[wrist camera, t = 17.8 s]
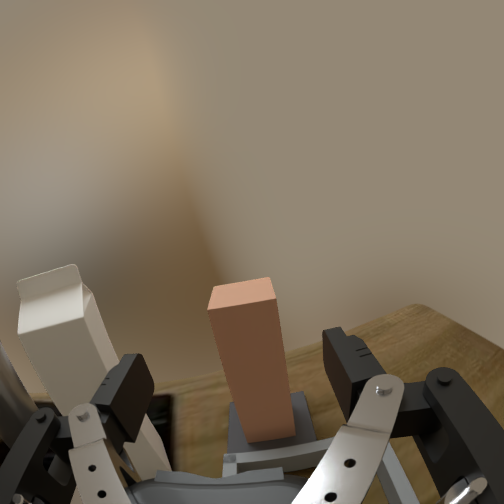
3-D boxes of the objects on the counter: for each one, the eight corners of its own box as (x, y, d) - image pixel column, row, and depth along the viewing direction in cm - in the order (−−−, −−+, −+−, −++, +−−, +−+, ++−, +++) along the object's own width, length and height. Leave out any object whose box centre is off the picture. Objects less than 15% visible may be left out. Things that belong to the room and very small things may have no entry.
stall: (229, 561, 9) (218, 556, 8) (231, 468, 20) (223, 454, 19) (412, 522, 9) (423, 512, 8) (375, 440, 20) (378, 423, 19)
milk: (174, 476, 19) (69, 271, 14) (122, 487, 17) (0, 292, 12) (161, 438, 25) (83, 256, 20) (116, 449, 22) (26, 273, 17)
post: (247, 442, 23) (207, 309, 19) (246, 411, 28) (213, 286, 24) (295, 435, 23) (276, 298, 19) (289, 404, 28) (269, 277, 24)
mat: (228, 461, 21) (227, 458, 21) (231, 405, 30) (229, 402, 30) (318, 448, 21) (318, 445, 21) (303, 394, 30) (303, 391, 29)
